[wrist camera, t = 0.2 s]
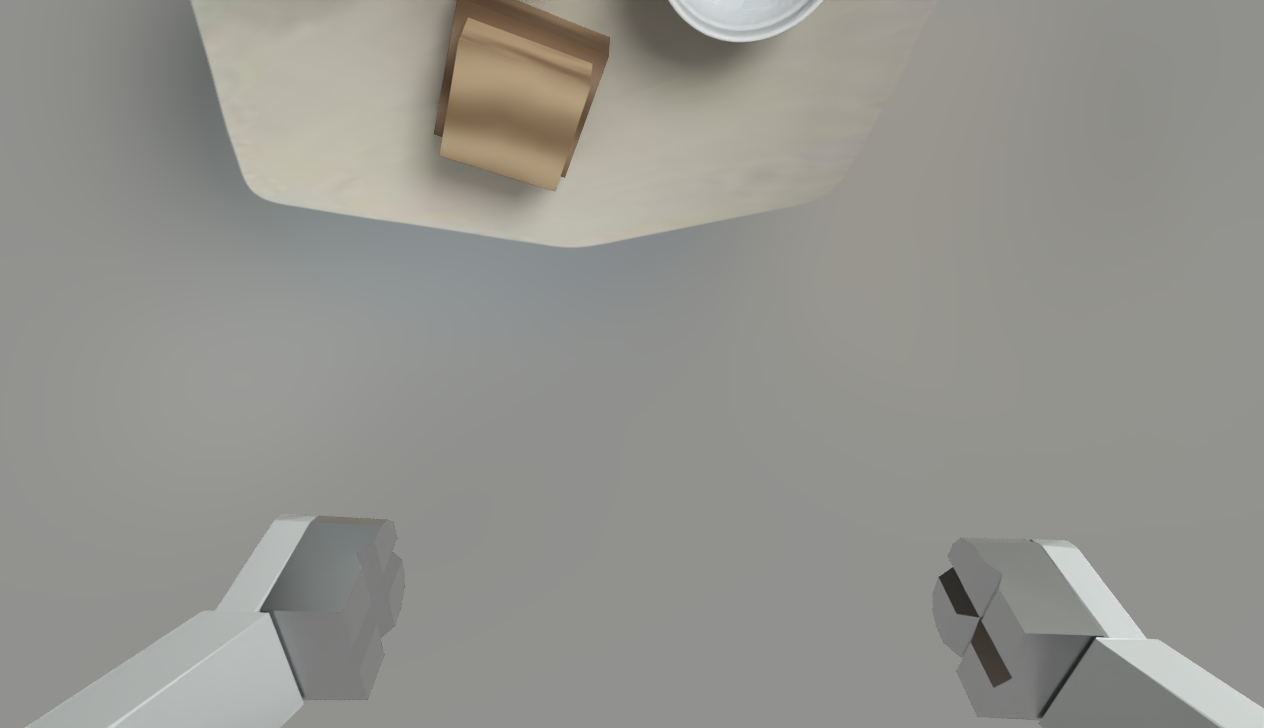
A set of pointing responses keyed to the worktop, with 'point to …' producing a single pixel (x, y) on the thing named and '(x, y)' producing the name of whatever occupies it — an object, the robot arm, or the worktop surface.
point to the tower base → (500, 9)
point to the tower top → (513, 105)
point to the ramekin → (743, 17)
